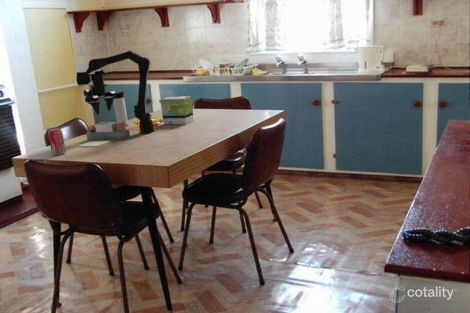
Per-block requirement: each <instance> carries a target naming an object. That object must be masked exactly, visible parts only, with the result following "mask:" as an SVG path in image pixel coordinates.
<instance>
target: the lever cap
mask: <svg viewBox="0 0 470 313" xmlns="http://www.w3.org/2000/svg"><path fill="white" fill-rule="evenodd" d="M95 125H96V131H97V132H114V131H116V130H118V129H117V121H116V122H115V121H114V122H112V121H111V122H109V121H99V122H97V123H96V124H95Z"/></svg>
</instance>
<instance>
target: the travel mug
mask: <svg viewBox="0 0 470 313" xmlns="http://www.w3.org/2000/svg"><path fill="white" fill-rule="evenodd" d="M124 93H125V91H120V92H116V96H114V97H115V98H114V100H113V106H114V107H113V108H114V112H115V119H116V122H117V123H125V127H128V126H129V121H128V115H127V108H126V100H125V95H124Z"/></svg>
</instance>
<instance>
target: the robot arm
mask: <svg viewBox="0 0 470 313" xmlns="http://www.w3.org/2000/svg"><path fill="white" fill-rule="evenodd" d="M125 60H130V61H132V62H134V63H135V64H137V66H138V71H139V72H138V73H139V81H138V82H139V83H138V84H139V85H138V97H137V103H135V104H134V105H133V110H134V111H133V114H134V117H135V118H136V119H137V120H138V121H139V124H138V126H139V132H138V134H150V133H153V132H155V131H156V129H154V124H153V123H154V122H153V119H152V114H151V113H149V112H148V108H147V102H146V96H147V86H148V84H147V83H148V75H149V74H148V73H149V70H150V67H151V59H150V58H149V57H146V56H144V57H143V56H142V55H140V54H137V53H135V52H134V51H132V50H127V51H126V52H122V53H118V54H114V55H111V56H107V57H97V58H93V59H90V60H89V61H88V67H87V69H86V71H78V72H76V83H77V85H78V86H85V85H86V86H87V85H90V84H91V83H92V85H91V87H90V89H84V90H82V91H83V96H84V101H85V103H87V104H89V105H90V106H91V107H92V109H93V110H94V112H95V113H96V115H100V101H99V100H100V99H103V100H104V101H105V104H106V109H107V112H110V111H111V110H112V105H113V104H114V101H113V100H114V98H115V97H114V96H116V93H117V92H116V91H115V90H111V91H110V90H108V91H106V87H107V83H105V81H104V80H105V79H104V74H107V71H105V70H104V69H103V68H104V67H106V66H108V65H111V64H115V63H119V62H122V61H125ZM100 69H101V70H100ZM93 72H94V73H93Z"/></svg>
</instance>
